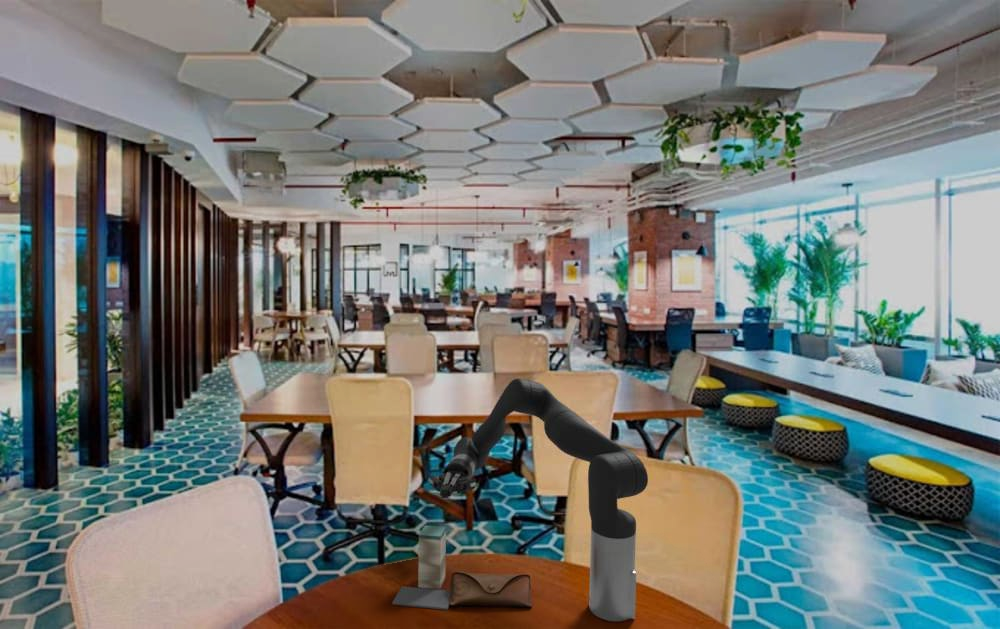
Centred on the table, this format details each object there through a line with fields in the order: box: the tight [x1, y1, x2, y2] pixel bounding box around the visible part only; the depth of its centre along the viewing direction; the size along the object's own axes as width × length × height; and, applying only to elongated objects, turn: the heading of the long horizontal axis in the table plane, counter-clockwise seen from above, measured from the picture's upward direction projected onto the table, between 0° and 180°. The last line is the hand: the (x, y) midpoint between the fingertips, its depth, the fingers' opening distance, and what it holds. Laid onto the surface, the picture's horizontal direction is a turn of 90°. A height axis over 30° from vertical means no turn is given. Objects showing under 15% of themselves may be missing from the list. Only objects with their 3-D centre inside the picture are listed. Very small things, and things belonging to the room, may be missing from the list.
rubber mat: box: [391, 586, 451, 611], centre depth 119 cm, size 12×6×1 cm, turn 82°
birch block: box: [417, 525, 447, 590], centre depth 126 cm, size 5×5×12 cm
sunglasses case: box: [449, 571, 533, 608], centre depth 120 cm, size 18×7×7 cm, turn 93°
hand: (444, 494), depth 137 cm, fingers closed
